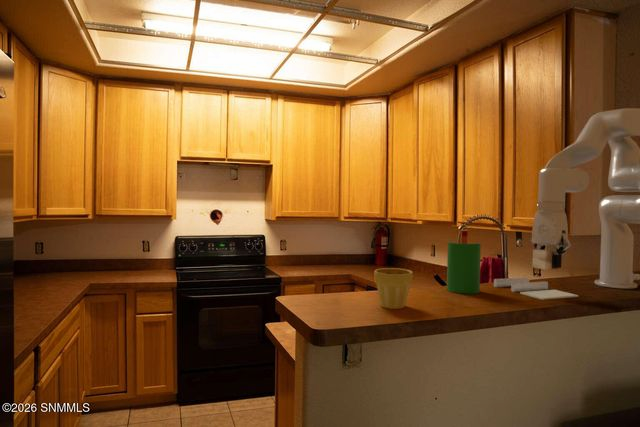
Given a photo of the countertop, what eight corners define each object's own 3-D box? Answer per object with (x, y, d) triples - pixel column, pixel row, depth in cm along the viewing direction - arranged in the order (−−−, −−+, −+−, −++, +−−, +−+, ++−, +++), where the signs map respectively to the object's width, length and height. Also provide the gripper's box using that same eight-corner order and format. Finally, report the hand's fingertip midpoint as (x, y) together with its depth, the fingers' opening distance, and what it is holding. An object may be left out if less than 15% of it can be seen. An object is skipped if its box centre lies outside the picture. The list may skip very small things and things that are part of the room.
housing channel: (526, 284, 162) (526, 277, 162) (547, 289, 153) (547, 282, 153) (493, 286, 157) (493, 279, 157) (513, 291, 149) (513, 284, 148)
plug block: (545, 266, 146) (545, 249, 146) (557, 269, 141) (558, 251, 141) (532, 267, 145) (533, 249, 144) (545, 269, 140) (545, 251, 140)
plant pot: (403, 312, 120) (404, 275, 120) (367, 307, 125) (368, 271, 125) (417, 305, 129) (418, 270, 128) (383, 300, 134) (383, 266, 134)
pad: (554, 291, 150) (554, 289, 150) (578, 296, 142) (578, 295, 142) (520, 293, 146) (520, 292, 146) (542, 299, 137) (542, 298, 137)
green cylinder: (476, 288, 153) (477, 228, 152) (483, 294, 144) (484, 230, 143) (445, 288, 154) (446, 228, 153) (449, 293, 145) (451, 230, 144)
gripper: (521, 207, 150) (519, 263, 150) (564, 208, 134) (562, 271, 134) (539, 207, 152) (537, 262, 153) (584, 208, 136) (581, 270, 137)
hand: (549, 265), depth 143 cm, fingers closed on plug block, 5 cm apart
